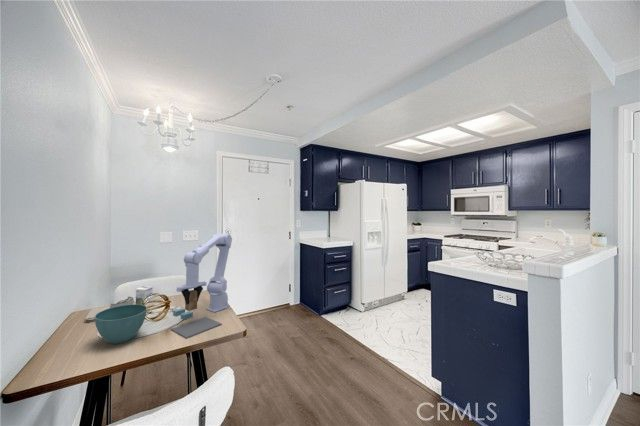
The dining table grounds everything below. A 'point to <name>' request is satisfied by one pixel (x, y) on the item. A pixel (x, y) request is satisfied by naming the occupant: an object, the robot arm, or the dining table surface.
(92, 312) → the washcloth
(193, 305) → the walnut block
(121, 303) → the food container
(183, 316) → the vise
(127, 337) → the teal bowl
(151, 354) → the dining table surface
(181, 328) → the rubber mat
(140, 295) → the syrup box
